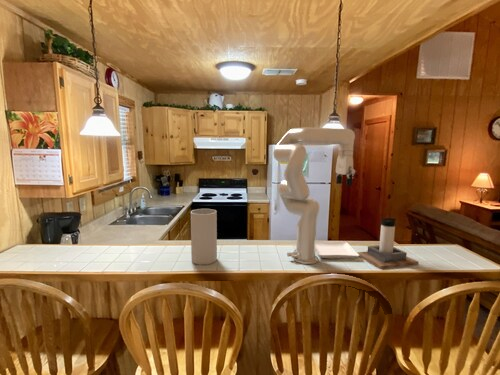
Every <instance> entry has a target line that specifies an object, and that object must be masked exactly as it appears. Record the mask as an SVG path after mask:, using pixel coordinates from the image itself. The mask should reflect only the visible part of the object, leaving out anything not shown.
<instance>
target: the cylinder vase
mask: <svg viewBox="0 0 500 375" xmlns="http://www.w3.org/2000/svg"><path fill="white" fill-rule="evenodd" d="M217 212H218V211H217V210H216V209H211V208H197V209H192V210H191V211H190V243H191V244H190V250H191V255H190V256H191V262H192V263H193V264H195V263H196V264H195V265H198V264H207V265H211V264H213V262H214V263H215V262H216V261H217V260H218V248H217V247H218V242H217V241H218V238H217V237H218V232H217V231H218V229H217V228H218V227H217V226H218V225H217V224H218V223H217V222H218V221H217V220H218V217H217V216H218V215H217ZM210 263H211V264H210Z"/></svg>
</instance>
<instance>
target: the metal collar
mask: <svg viewBox="0 0 500 375" xmlns="http://www.w3.org/2000/svg"><path fill="white" fill-rule="evenodd" d="M379 247H380V244H378V245H369V246H367V251H368V253H367V254H369V255H371V256H373V257H375V258H376V259H378V260H380V261H382V262H384V263H389V262H398V261H406V256H407V252H405V251H404V250H401V249H399V248H397V247H395V246H393V253H387V254H385V253H383V252H381V251H379Z"/></svg>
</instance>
